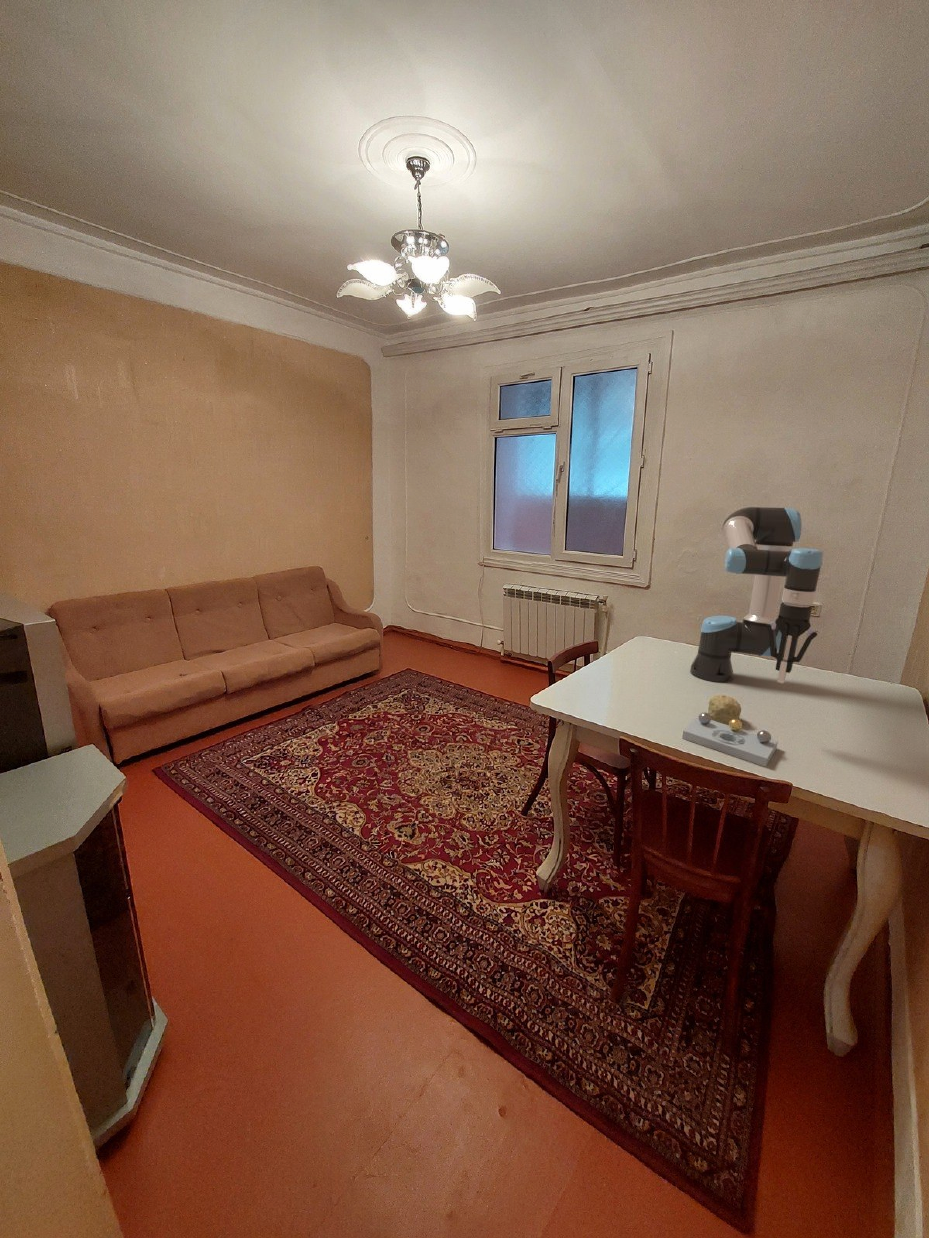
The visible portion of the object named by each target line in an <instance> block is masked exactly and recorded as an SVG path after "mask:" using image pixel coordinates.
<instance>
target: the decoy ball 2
mask: <svg viewBox="0 0 929 1238" xmlns="http://www.w3.org/2000/svg"><path fill="white" fill-rule="evenodd" d="M756 734H757V739H758V740H759V741H760V742H762V743H768V742H769V741H770V740H771V739H772V735H771V733H770V732H769V731H767V730H760V731H758V732H757V733H756Z"/></svg>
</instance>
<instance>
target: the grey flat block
mask: <svg viewBox="0 0 929 1238" xmlns="http://www.w3.org/2000/svg"><path fill="white" fill-rule="evenodd" d="M757 734H758V733H754V732H751V731H747V730H745V729H742V728H741V729H740V730H738V731H734V730H732V729H730V727H729V725H728V724H722V723H719V722H716V721H713V720H711V722H710V723H709V724H702V723H701V722H700V721H699V715H698V716H697V717H696V718H695V719H693V721H691V723H689V724H688V726H687V727H686V728H684V729H683V730H682V739H683V740H685V741H689V742H692V743H695V744H697V745H701V746H704V747H707V748H709V749H712V750H715V751H719V752H721V753H723V754H727V755H730V756H733V757H736V758H738V759H742V760H744V761H747V762H750V763H754V764H756V765H759V766H762V767H764V768H766V767H767V765H768V764H769V762H770V760H771V759H772V757H773V755H774V753H775V752H776V750H777V747H778V743H779V740H777V739H774V738H771V740H770V741H769V742H768V743H762V742H760V741H759V740H758V739H757Z"/></svg>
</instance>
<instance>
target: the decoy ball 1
mask: <svg viewBox="0 0 929 1238" xmlns="http://www.w3.org/2000/svg"><path fill="white" fill-rule="evenodd" d="M698 716H699V721H700V722H701V723H702V724H709V723H710V722H711V716H710V715H709V714H708V712H700V714H698Z"/></svg>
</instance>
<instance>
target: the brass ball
mask: <svg viewBox="0 0 929 1238" xmlns="http://www.w3.org/2000/svg"><path fill="white" fill-rule="evenodd" d="M729 727H730V729H732V730H734V731H738V730H740V729H742V728H743V723H742V721H741V720H740V719H739V720H738V719H732V720H730V722H729Z"/></svg>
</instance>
